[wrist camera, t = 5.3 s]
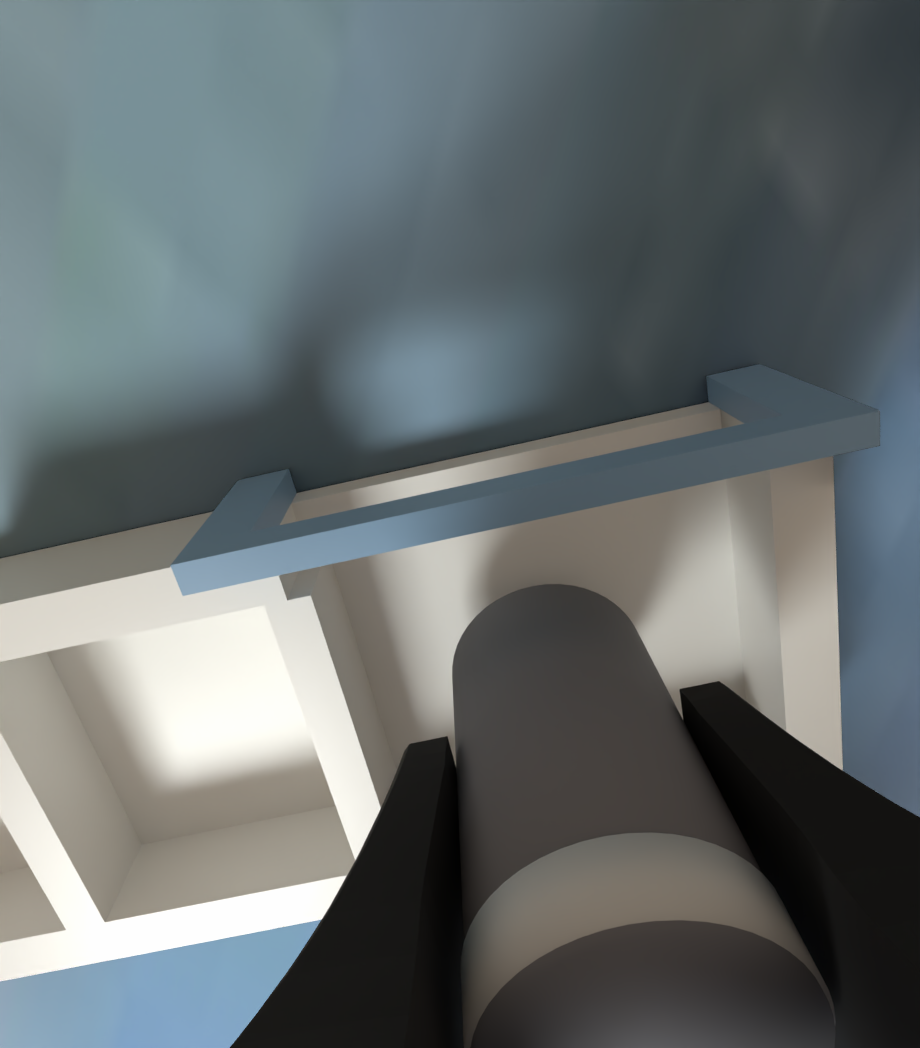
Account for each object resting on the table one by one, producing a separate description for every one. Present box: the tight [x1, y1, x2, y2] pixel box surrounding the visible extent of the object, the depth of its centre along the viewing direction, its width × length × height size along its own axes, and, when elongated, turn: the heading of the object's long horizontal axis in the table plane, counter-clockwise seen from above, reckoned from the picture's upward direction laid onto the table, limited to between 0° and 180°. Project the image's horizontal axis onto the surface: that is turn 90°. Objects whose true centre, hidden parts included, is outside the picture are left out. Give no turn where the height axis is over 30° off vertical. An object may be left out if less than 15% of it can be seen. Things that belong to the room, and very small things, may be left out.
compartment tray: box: [0, 364, 880, 981], centre depth 14 cm, size 8×24×4 cm, turn 102°
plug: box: [452, 584, 836, 1048], centre depth 10 cm, size 4×4×7 cm
